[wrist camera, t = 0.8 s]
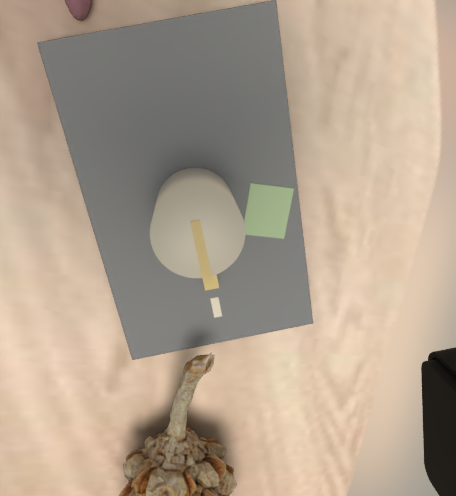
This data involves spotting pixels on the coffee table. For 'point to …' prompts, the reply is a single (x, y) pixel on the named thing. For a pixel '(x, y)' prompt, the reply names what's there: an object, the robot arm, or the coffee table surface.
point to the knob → (197, 225)
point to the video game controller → (79, 8)
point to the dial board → (186, 156)
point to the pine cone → (180, 452)
